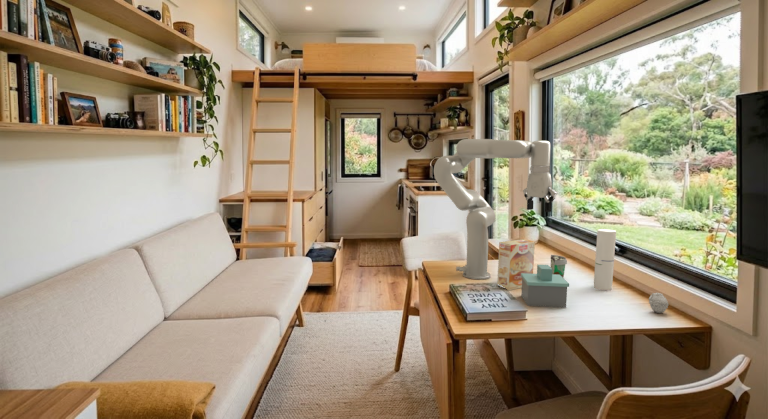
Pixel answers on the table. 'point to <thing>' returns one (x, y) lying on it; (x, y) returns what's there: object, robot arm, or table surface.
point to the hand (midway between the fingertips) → (538, 210)
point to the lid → (544, 277)
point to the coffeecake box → (515, 262)
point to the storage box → (544, 295)
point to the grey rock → (658, 302)
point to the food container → (558, 264)
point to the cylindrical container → (604, 259)
